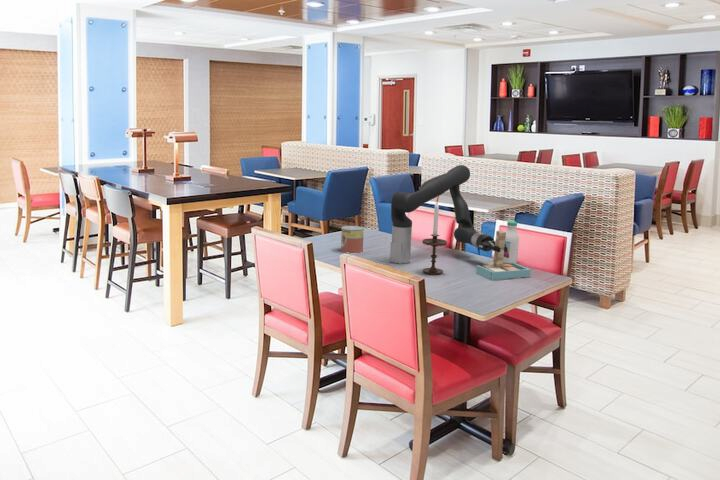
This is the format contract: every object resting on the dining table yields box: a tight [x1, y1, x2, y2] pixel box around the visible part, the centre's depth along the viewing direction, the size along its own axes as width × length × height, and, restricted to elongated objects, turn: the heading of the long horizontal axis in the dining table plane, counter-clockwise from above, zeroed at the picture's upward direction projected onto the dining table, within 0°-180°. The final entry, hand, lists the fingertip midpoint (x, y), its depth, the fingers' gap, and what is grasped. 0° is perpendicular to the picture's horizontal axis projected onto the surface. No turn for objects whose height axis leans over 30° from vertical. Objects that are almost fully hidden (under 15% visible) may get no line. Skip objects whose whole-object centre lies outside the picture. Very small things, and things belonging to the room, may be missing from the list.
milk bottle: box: [503, 220, 520, 264], centre depth 310 cm, size 8×8×20 cm
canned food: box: [340, 225, 365, 255], centre depth 323 cm, size 11×11×12 cm
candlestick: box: [421, 196, 448, 276], centre depth 285 cm, size 11×11×35 cm
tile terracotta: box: [502, 267, 519, 271], centre depth 289 cm, size 6×6×3 cm
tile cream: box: [488, 268, 505, 272], centre depth 286 cm, size 6×6×3 cm
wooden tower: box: [482, 230, 513, 269], centre depth 289 cm, size 3×14×18 cm, turn 112°
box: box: [476, 263, 532, 281], centre depth 287 cm, size 12×20×4 cm, turn 112°
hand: (503, 249), depth 287 cm, fingers closed on wooden tower, 3 cm apart
